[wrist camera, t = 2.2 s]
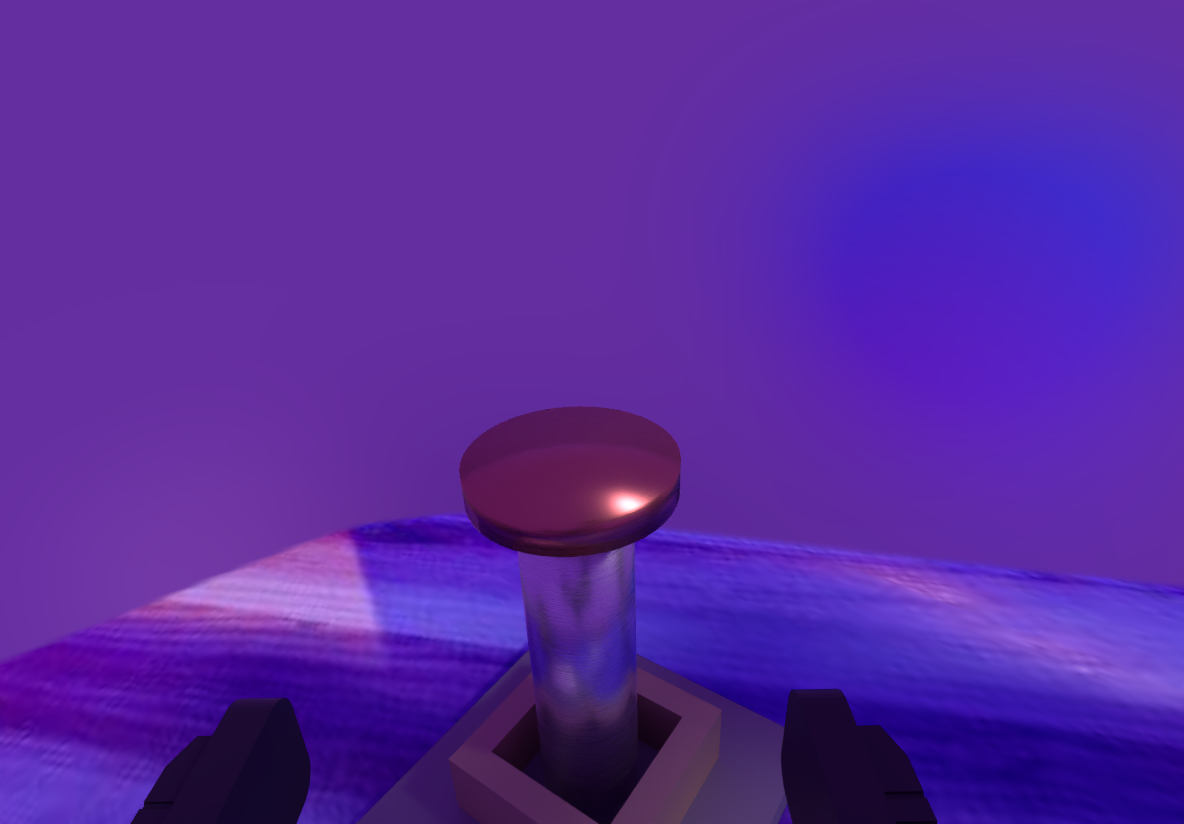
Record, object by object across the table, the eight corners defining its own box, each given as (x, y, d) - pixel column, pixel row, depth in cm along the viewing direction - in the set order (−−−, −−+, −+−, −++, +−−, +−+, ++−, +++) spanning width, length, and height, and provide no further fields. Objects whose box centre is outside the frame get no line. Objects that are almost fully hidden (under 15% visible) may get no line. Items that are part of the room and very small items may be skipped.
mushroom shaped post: (574, 688, 34) (551, 391, 26) (703, 760, 30) (719, 437, 22) (475, 802, 29) (412, 476, 21) (615, 906, 25) (597, 553, 17)
